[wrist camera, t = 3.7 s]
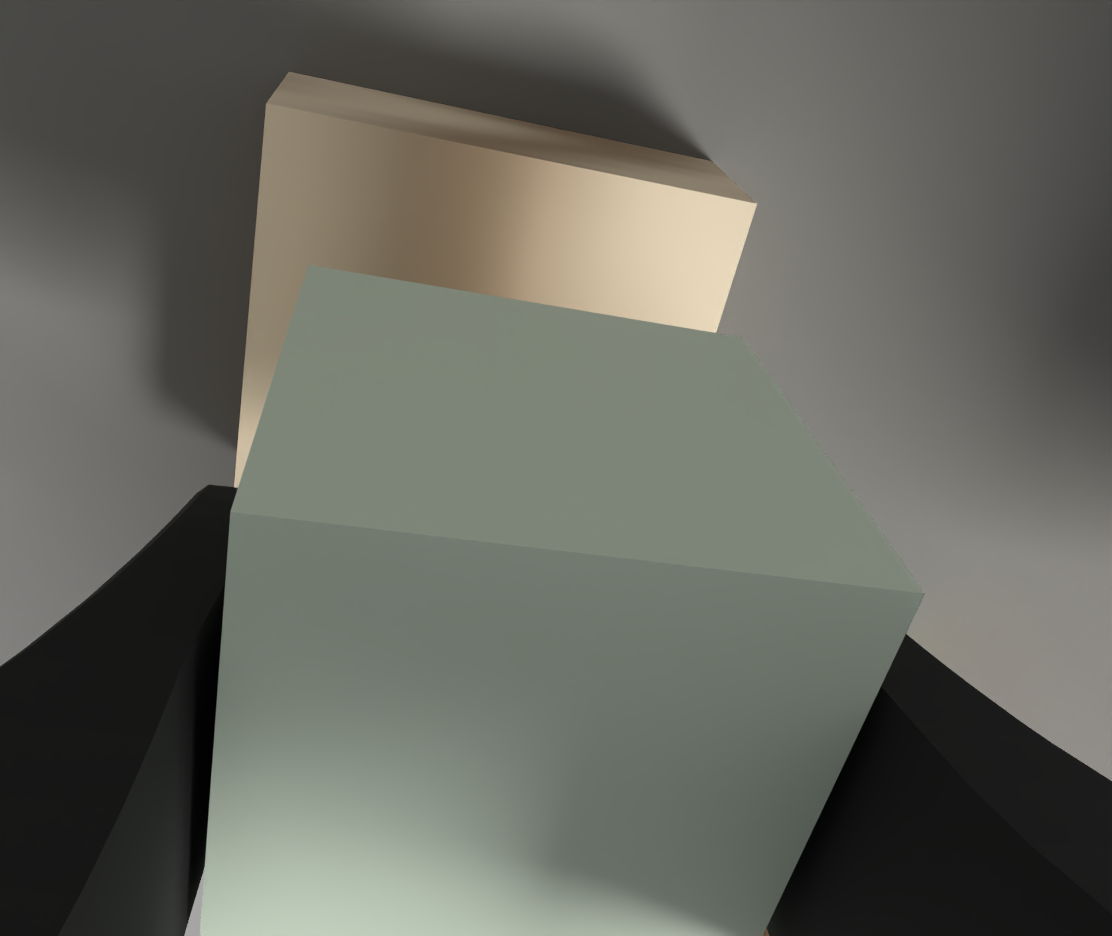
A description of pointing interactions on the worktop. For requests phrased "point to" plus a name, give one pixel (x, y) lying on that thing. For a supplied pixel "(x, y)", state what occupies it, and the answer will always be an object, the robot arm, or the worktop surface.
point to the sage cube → (531, 627)
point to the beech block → (477, 216)
